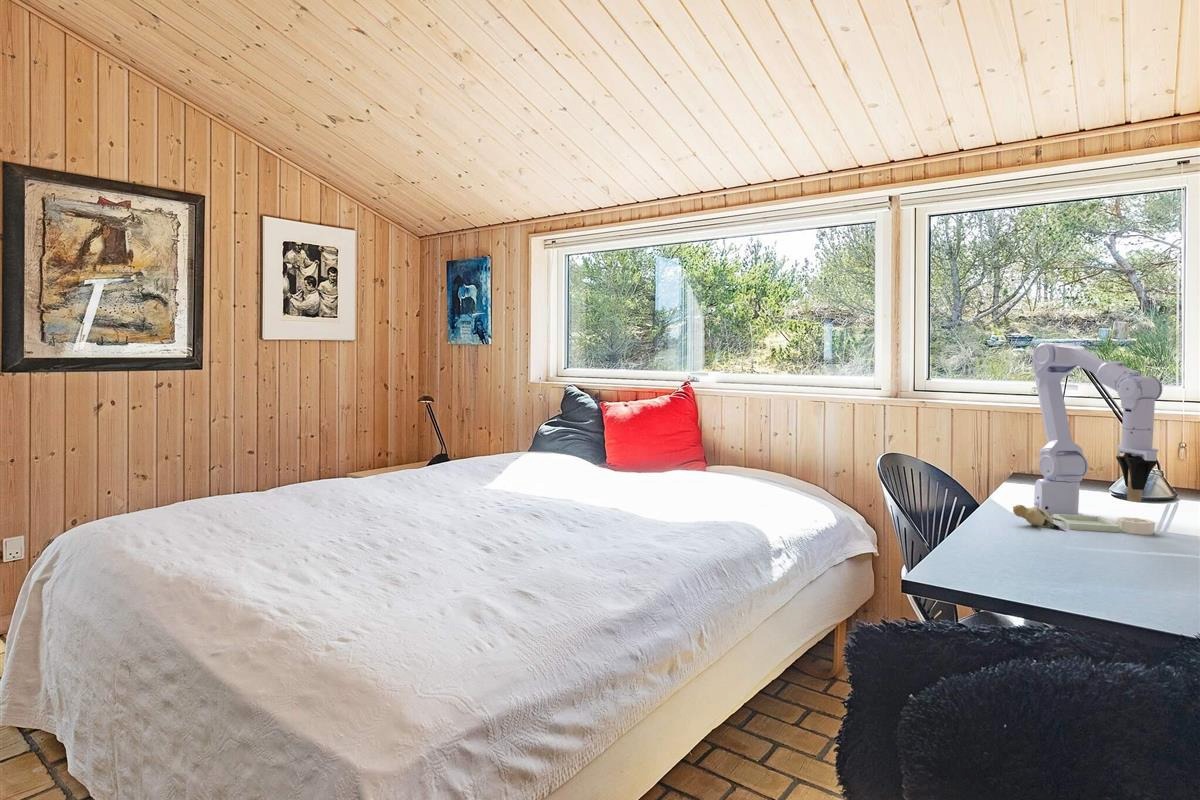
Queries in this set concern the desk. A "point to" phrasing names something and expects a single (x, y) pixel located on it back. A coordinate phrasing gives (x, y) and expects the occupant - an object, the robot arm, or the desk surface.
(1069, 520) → the tray
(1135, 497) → the dowel pin
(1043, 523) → the decorative bird model
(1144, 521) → the pin cup
